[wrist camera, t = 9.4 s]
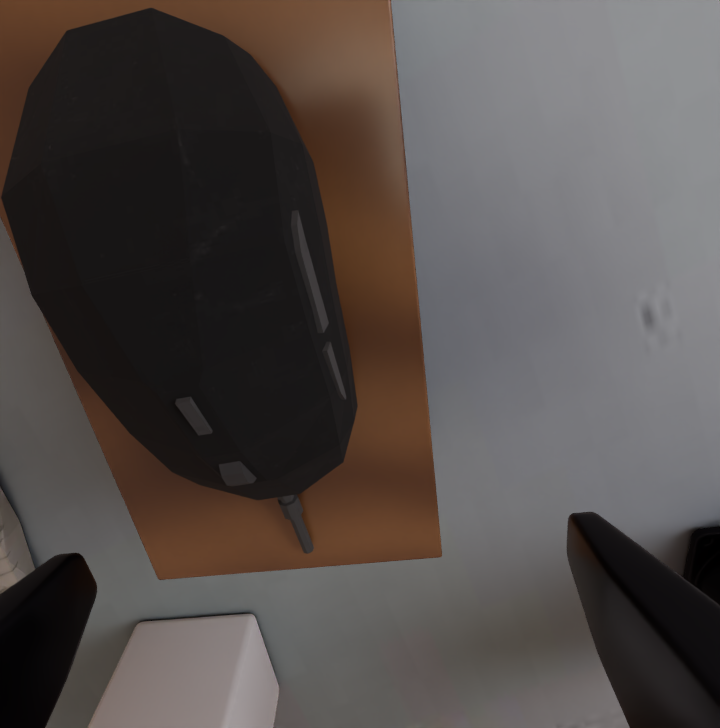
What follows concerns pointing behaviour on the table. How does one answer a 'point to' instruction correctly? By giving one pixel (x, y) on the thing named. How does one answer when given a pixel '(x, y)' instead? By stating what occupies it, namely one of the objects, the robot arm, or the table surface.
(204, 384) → the gaming mouse
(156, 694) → the medicine bottle
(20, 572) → the packaged product
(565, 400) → the table surface
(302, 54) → the walnut wood stand
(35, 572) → the robot arm
